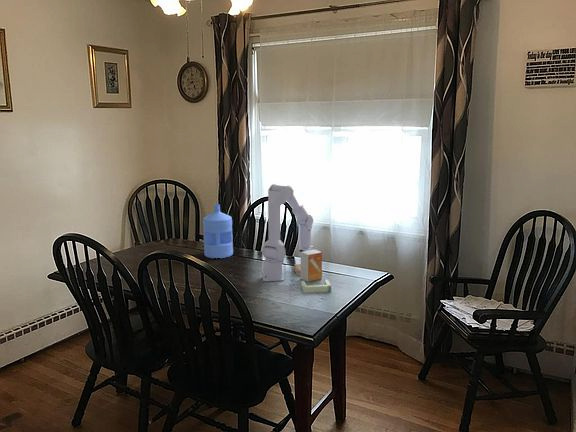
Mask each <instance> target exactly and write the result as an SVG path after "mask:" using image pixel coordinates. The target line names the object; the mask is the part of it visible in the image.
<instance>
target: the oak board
mask: <svg viewBox="0 0 576 432" xmlns="http://www.w3.org/2000/svg"><path fill="white" fill-rule="evenodd" d="M294 271H295V273H296V276H297V277H301V263H295V264H294Z"/></svg>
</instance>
